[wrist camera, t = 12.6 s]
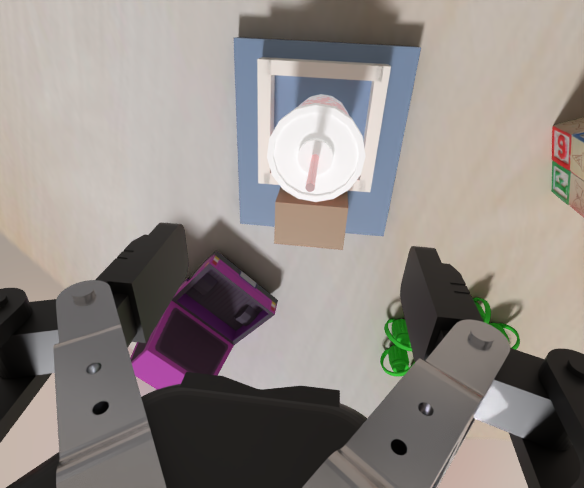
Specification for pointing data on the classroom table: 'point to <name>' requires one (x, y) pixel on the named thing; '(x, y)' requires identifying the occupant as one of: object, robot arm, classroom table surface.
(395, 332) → the chandelier
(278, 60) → the blue square tray
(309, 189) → the beverage cup
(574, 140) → the stack of blocks
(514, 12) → the classroom table surface
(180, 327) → the toy truck
